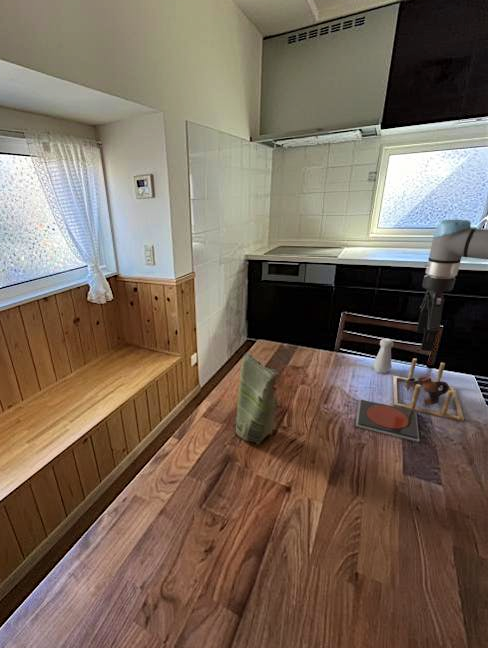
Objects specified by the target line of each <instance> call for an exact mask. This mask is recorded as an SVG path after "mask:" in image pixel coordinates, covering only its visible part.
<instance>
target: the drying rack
mask: <svg viewBox="0 0 488 648" xmlns="http://www.w3.org/2000/svg"><path fill="white" fill-rule="evenodd" d="M417 361H418V359H417V358H415V357H413V358H412V360H411V365H410V369H409V373H408V377H404V376H397V375H393V376H392V380H393V381H392V382H393V383H392V385H393V386H392V387H393V388H392V389H393V407H398V408H403V409H407V410H412V411H415V412H419V413H424V414H428V415H432V416H437V417H442V418H447V419H451V420H457V421H462V422H464V421H465V417H464V413H463V410H462V407H461V404H460V400H459V396H458V394H457V390H456V387H455V386H453V385H448V386H449V390H448V391H447V392H446V396H445V399H444V402H443V406H442V408H441V411H436V410H431V409H427V408H422V407H416V404H417V400H418V397H419V393H420V390H421V386H422V385H419V384H416V387H415V390H414V389H413V390H414V391H413V394H412V397H411V402H410V405H407V404H403V403H398V402H399V401H398V400H399V399H398V381H402V382H406V380H409V379H412V378H414V377H413V376H414V373H415V370H416V366H417ZM445 366H446V363H445V362H440V364H439V368H438V372H437V375H436V379H435V382H439V381H442V380H441V379H442V376H443V372H444V369H445ZM417 380H418V379H415V381H417ZM439 388H440V389H443V386H442V385H441V386H440V387H439ZM451 399H453V402H454V406H455V410H456V413H457V415H455V414H451V413H447V412H448V409H449V407H450V403H451Z"/></svg>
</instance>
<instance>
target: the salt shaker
mask: <svg viewBox="0 0 488 648" xmlns="http://www.w3.org/2000/svg"><path fill="white" fill-rule="evenodd" d="M394 345H395V343H394V341H393V340H392V339H390V338H382V339H381V340H380V341H379V346H380V348H379V351H378V353H377V355H376V357H375V360H374V361H373V368H374V372H376V373H378V374H383V375H384V374H387V373H388V372H389V371H390V370H391V369H392V348H393V347H394Z"/></svg>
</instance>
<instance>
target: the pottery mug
mask: <svg viewBox="0 0 488 648" xmlns="http://www.w3.org/2000/svg"><path fill="white" fill-rule="evenodd" d="M415 380H417V381H415ZM405 383H406V384H405V386H404V388H405V389H406V390H407V391H409V390H410V388H412V389H413V390H415V387H416V384H419V385H421V386H422V387H423V390H424V392H426V393H428V395H429V397H426V398H423V399H422V400H423V405H424V406H431V405H436V404H439V401H440V397H441V396H443V395H445V394H447V392H448V390H450V389H449V386H450V385H449V383H448V382H446V381H442V380H440V381H439V382H436V381H435V380H433V379H432V377H431V376H419V377H417V379H416V378H415V377H412V379H409V380H406V381H405ZM441 385H442V386H443V388H441V387H440V386H441ZM440 388H441V389H440ZM439 389H440V390H439Z"/></svg>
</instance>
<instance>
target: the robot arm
mask: <svg viewBox="0 0 488 648" xmlns="http://www.w3.org/2000/svg"><path fill="white" fill-rule="evenodd" d="M471 224H472V222H471V221H470V220H467V219H444V220H441V221H439V222H438V223H437V224H436V227H435V232H434V234H433V236H432V242H431V245H430V252H429V256H428V260H427V263H424V267H425V272H424V273H425V275H424V276H423V281H422V284H421V287H422V288H423V289H425V290H426V292H425V294H424V297H423V299H422V303H421V306H420V315H419V319H418V323H417V326H416V331H415V332H416V333H415V334H423V338H422V341H421V346H420V351H427V352H433V348H434V344H435V340H436V336H437V333H440V331H441V330H440V329H441V321H442V315H443V310H444V304H445V301H446V299H445V296H443V293H445V292H450V291H452V290H453V289H454V286H455V283H456V276H458V273H459V268H460V266H461V260H462V258H467V259H468V258H471V259H480V260H488V229H487V228H486V229H485V228H473V227H472V225H471Z"/></svg>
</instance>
